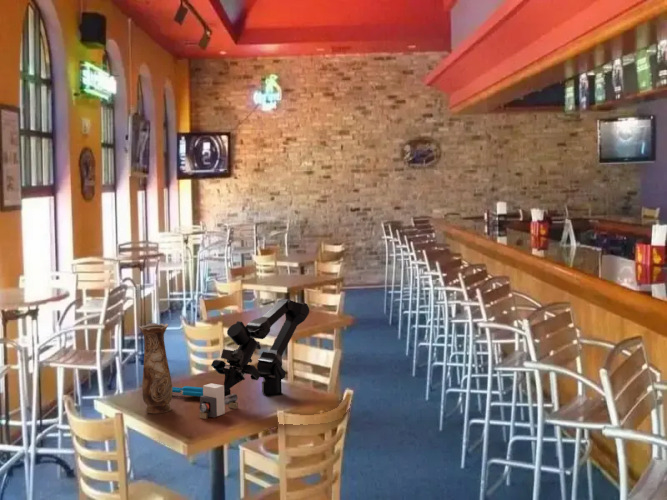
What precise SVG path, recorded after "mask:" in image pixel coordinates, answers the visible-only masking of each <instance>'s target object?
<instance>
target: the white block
mask: <svg viewBox="0 0 667 500" xmlns="http://www.w3.org/2000/svg"><path fill="white" fill-rule="evenodd" d="M202 388H203V396H208V397H213V398H216V401H217V417H219V416H222V415H225V414H226V412H225V408H226V407H225V406H226V405H225V404H224V384H223V385H222V384H219V383H218V384H216V383H208V384H204V385H203V386H202ZM206 403H208V402H206ZM209 411H211V409H210V410H209Z"/></svg>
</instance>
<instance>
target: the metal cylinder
mask: <svg viewBox="0 0 667 500" xmlns="http://www.w3.org/2000/svg"><path fill="white" fill-rule="evenodd" d="M238 403H239V402H238V395H237V393H231V395H228V396H225V397H224V404H225V406H226V405H228V408H229V409H234V410H236V409H238V408H239V404H238ZM210 409H211V408H210V402H208V403H206V404H205V403H204V404H201V405H200V404H199V412H198V413H199V417H198V418H199V419H203V420H208V419H209V418H208V417H209V416H208V412H206V411H207V410H210Z"/></svg>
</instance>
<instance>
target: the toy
mask: <svg viewBox="0 0 667 500" xmlns="http://www.w3.org/2000/svg"><path fill="white" fill-rule="evenodd" d="M231 391H232V390H231V388H230V389H229V390H227V391H224V397H225V396H228V395H231V394H232V393H231ZM172 393H177V394H181V395H182V396H187V397H188V396H189V397H198V398H200V396H203V387H201V386H200V387H199V386H191V385H190V386H189V385H185V386H182V387H176V386H172Z"/></svg>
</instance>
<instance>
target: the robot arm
mask: <svg viewBox="0 0 667 500" xmlns="http://www.w3.org/2000/svg"><path fill="white" fill-rule="evenodd" d="M309 314H310V307H309V305H308V303H305V302H299V301H298V302H297V301H294V300H291V299H287V298H286V299H285V298H281V299H279V300H278V301H277V303H276V304H274V306H272V307H271V308H270V309H269V310H268V311H267V312H265V314H263V315H262V316H261V317H259V318H255V319H253V320H251V321H250V322H248V323H247V324H246V325H244V323H243V322H242V321H239V320H236V323H234V324H232V325H231V326H229V327H228V328H227V331H226V334H227V336H228V337H229V338H230V339H231V341H233V343H234V344H235V345H236V346H238V348H236V349H233V350H231V349H225V348H224V349H222V352H221V355H220V359H214V360H212V363H211V365H210V366H211V367H212V368H213V369H214V370H215V371H216V372H217V373H218V374H219V375H224V381H223V386H224V391H227V390H229V389H230V390H231V388H233V387H234V386H235V385H237V384H239V383H240V382H241V381H245V379H246V378H245V377H246V375H250V378H251V380H254V381H259V379H260V378H262V381H261V393H262V394H263V395H264V396H265V397H273V396H282V395H284V393H283V392H282V389H283V388H282V380H283V379H285V378H286V374H287V373H286V370H285V369H284V368H283V367H282V366H283V360H282V359H283V355H284V353H285V350H286V348H287V347H288V345H289V343H290V341H291V339H292V337H293V335H294V334H295V333H294V332H296V329H297V327H298V326H299V325H300V324H302V323H304V322H305V321H306V319H307V317H308V316H309ZM284 315H285V320H284V323H283V324H282V325H281V326H282V327H281V328H280V330H279V332H278V334H277V336H276V338H275V339H274V342H273V344H272V345H271V347H270V349H269V350H268V351H262V352H261V354H260V356H259V358H258V359H257V364H256V366H255V365H252V364H249V363H252V362H253V359H252V357H253V355H254V353H255V351H256V350H261V347H262V346H261V343H260V341H257V340H256V339H258V340H263V339H266V337H267V336H268V334H269V333H270V332H271V327H272V326H273V325H274V324H275V323H277V322H278V321H279V319H281V318H282V317H283V316H284ZM222 359H224V360H226V362H225V361H224V360H222Z"/></svg>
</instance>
